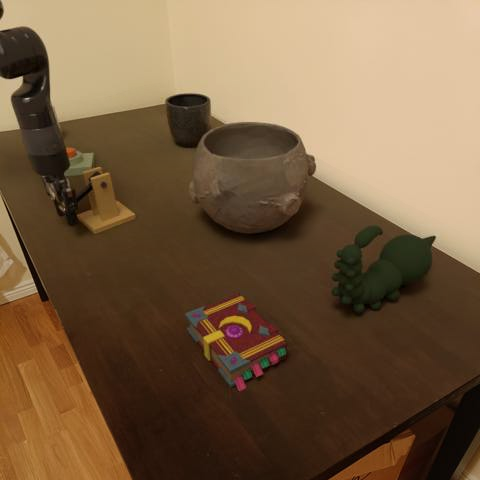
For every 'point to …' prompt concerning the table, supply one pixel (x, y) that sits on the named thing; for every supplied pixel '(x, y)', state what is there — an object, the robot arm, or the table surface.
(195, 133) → the planter
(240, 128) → the bowl
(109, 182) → the wooden lever stand
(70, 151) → the button
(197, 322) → the decorative book
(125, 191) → the table surface
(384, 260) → the toy figurine
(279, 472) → the table surface
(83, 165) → the switch block
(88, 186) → the switch lever
